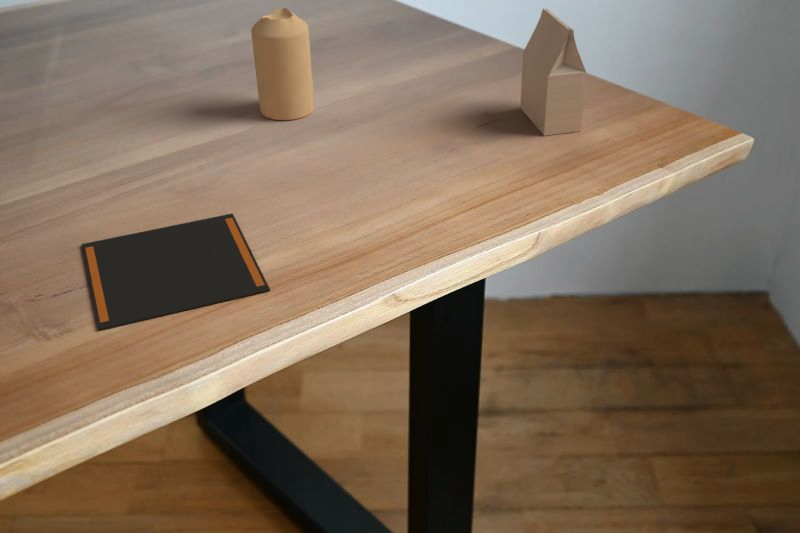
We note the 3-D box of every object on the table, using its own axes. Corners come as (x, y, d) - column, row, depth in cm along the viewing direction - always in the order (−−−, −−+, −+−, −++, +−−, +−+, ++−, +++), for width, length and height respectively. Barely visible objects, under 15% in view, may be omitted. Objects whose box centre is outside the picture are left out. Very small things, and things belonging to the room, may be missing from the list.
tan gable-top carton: (544, 135, 86) (551, 32, 81) (520, 108, 92) (525, 10, 86) (580, 131, 87) (590, 28, 81) (554, 104, 92) (562, 6, 87)
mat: (82, 245, 71) (81, 243, 71) (232, 214, 75) (232, 213, 75) (98, 330, 62) (98, 329, 62) (270, 290, 65) (269, 289, 65)
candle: (275, 96, 96) (266, 1, 90) (323, 102, 94) (316, 6, 88) (250, 117, 91) (238, 18, 86) (300, 124, 90) (291, 24, 84)
